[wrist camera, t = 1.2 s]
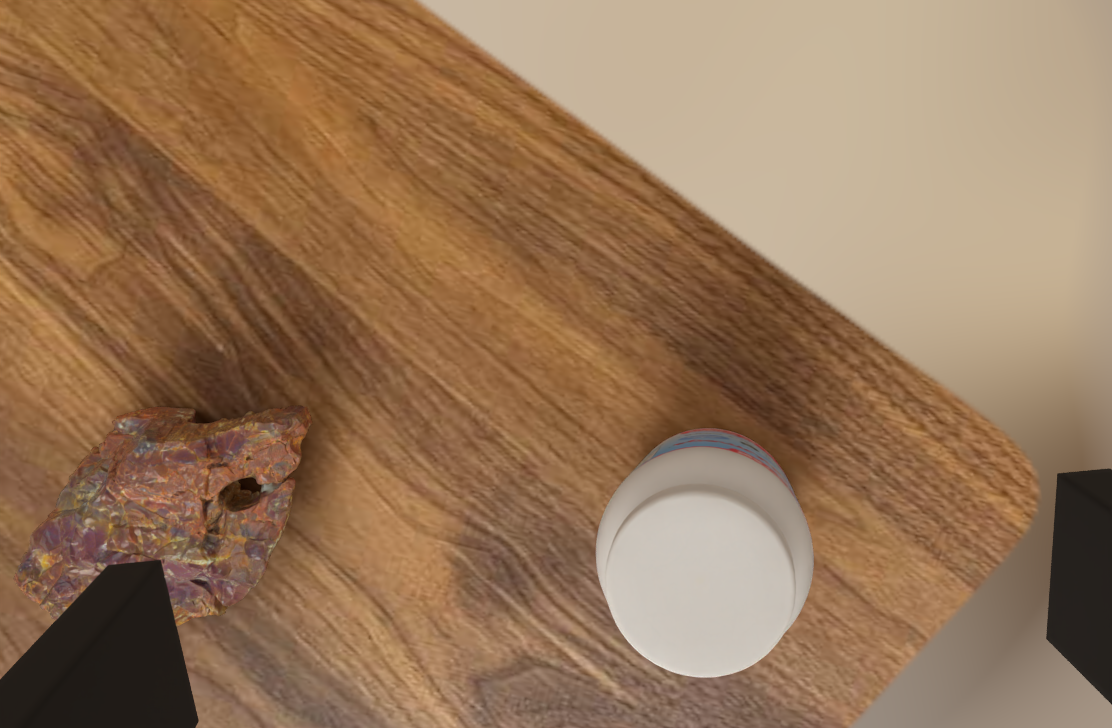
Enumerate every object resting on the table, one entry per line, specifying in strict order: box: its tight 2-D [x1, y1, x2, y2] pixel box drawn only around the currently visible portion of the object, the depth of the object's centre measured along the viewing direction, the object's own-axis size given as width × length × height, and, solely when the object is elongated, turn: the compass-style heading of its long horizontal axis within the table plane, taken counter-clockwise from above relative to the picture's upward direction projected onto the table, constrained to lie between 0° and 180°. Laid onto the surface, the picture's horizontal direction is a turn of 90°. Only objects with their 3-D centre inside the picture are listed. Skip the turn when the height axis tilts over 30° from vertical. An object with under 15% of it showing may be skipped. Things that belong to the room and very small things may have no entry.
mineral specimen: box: [14, 406, 312, 626], centre depth 34 cm, size 12×8×7 cm
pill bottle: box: [596, 428, 814, 677], centre depth 27 cm, size 6×6×11 cm
